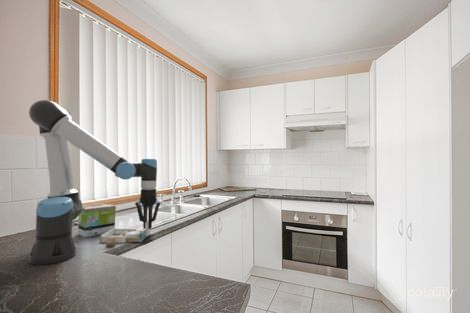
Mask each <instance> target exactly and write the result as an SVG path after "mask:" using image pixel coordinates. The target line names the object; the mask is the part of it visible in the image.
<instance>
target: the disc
mask: <svg viewBox="0 0 470 313" xmlns="http://www.w3.org/2000/svg"><path fill="white" fill-rule="evenodd" d="M139 231H140V230H136V231H131V232H127V233H125V236H126V237H139V236H140V232H139Z"/></svg>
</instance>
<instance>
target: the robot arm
mask: <svg viewBox="0 0 470 313" xmlns="http://www.w3.org/2000/svg"><path fill="white" fill-rule="evenodd" d="M28 115H29V118H30V120H31V121H32V122H33V123H34V124H35V125H37V126H38V129H39V135H40V136H41V137H43V139H44V143H45V152H46V160H47V167H48V168H47V169H48V177H49V183H50V184H49V185H50V192H49V193H48V194H47V196H46V197H47V198H43V199H42V200H40V201H38V203H37V205H36V209H35V214H36V216H35V217H36V219H35V241H34V244H33V246H32V248H31V251H30V253H29V256H28V263H29V264H30V265H38V266H39V265H41V266H43V265H51V264H56V263H60V262H63V261H66V260H69V259H71V258H73V257H74V256H76V253H77V246H76V244H75V241H74V238H73V236H72V231H73V229H72V228H73V221H75V220H76V219H77V218H79V214H80V213H81V210H82V206H83V203H82V201H81V199H80V196H79V191H78V190H77V189H75V187H74V178H73V169H72V168H73V167H72V161H71V153H70V152H71V151H70V144H71V145H73V147H76V148H77V149H79V150H80V151H81V152H83V153H85V154H86V155H88V156H89V157H91V158H92V159H94V160H95V161H96V162H98V163H99V164H101V165H102V166H103V167H105V168H107V169H108V170H109V171H111V172H112V173H114V176H115V177H116V178H120V179H121V180H130V179H132V178H140V179H141V180H140V197H139V200H138V201H136V202H134V205H135V206H136V210H137V215H138V218H139V219H138V220H139V222H142V223H143V224H142V226H143V229H144V230H145V236H148V235H149V234H150V235H151V229H152V226H153V222H154V221H156V220H157V217H158V213H159V208H160V206H161V204H162V201H158V198H157V189H156V188H157V180H158V179H157V178H158V161H157V159H156V158H141V161H140V162H139V161H138V162H137V161H135V162H134V161H128V160H127V159H126V158H125V157H123V156H122V155H120V154H119V153H117V152H116V151H115V150H113V149H112V148H111V147H109V146H108V145H106V144H105V143H103V142H102V141H101V140H99V139H98V138H96V137H95V136H94V135H92V134H91V133H89V132H88V131H87V130H85V129H84V128H83V127H81V126H79V125H78V124H77V123H76V122H74V121H73V117H72V115H71V113H70V112H69V110H67V109H66V108H64V106H62V105H60V104H58V103H56V102H55V101H52V100H48V99H42V100H37V101H35V102H33V103H32V105H31V106H30V108H29V112H28ZM154 205H155V207H154ZM142 208H143V209H142ZM153 208H154V211H153ZM150 235H149V236H150ZM149 236H148V237H149Z"/></svg>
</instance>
